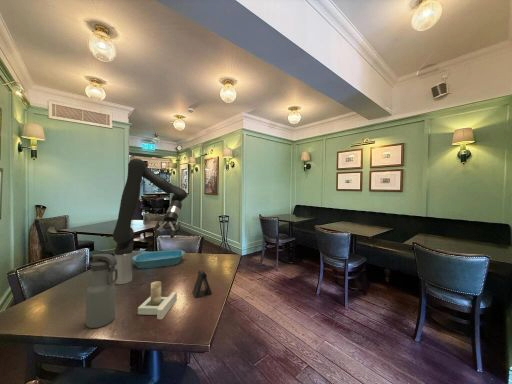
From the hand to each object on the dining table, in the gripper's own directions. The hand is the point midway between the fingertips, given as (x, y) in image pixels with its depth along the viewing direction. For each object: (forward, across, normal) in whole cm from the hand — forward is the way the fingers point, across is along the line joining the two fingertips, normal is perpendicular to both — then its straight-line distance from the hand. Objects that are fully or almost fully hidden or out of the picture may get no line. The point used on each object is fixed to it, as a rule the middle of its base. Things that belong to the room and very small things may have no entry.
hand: (163, 237), depth 120 cm
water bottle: (+43, -11, -2) cm, 45 cm away
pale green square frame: (+36, +6, +5) cm, 36 cm away
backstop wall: (+36, +12, +5) cm, 38 cm away
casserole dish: (-8, -22, +49) cm, 54 cm away
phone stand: (+25, +24, +16) cm, 38 cm away
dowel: (+36, +6, +5) cm, 37 cm away
